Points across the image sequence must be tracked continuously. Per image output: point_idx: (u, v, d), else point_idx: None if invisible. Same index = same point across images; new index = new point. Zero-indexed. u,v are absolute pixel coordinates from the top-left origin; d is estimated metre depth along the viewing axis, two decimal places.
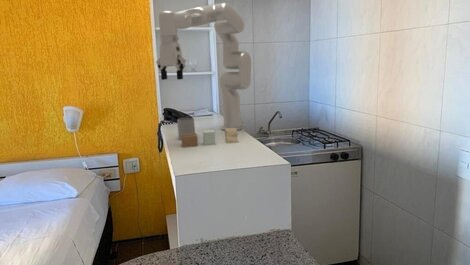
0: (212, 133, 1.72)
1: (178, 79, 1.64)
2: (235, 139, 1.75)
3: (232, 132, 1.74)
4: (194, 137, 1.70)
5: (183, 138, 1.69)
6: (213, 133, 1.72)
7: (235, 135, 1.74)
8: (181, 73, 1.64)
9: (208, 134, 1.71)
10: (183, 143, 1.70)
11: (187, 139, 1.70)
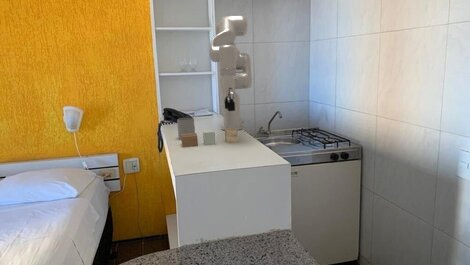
0: (212, 133, 1.72)
1: None
2: (235, 139, 1.75)
3: (232, 132, 1.74)
4: (194, 137, 1.70)
5: (183, 138, 1.69)
6: (213, 133, 1.72)
7: (235, 135, 1.74)
8: None
9: (208, 134, 1.71)
10: (183, 143, 1.70)
11: (187, 139, 1.70)
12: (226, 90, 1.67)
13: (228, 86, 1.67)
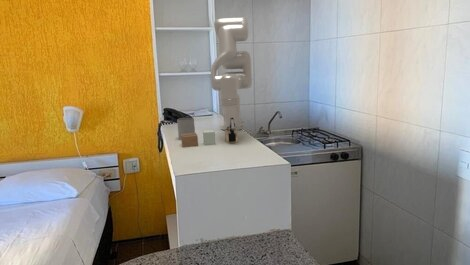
0: (212, 133, 1.71)
1: None
2: None
3: None
4: (194, 137, 1.70)
5: (183, 138, 1.69)
6: (213, 133, 1.72)
7: None
8: None
9: (208, 134, 1.71)
10: (184, 143, 1.70)
11: (187, 139, 1.70)
12: (228, 120, 1.70)
13: (230, 116, 1.70)
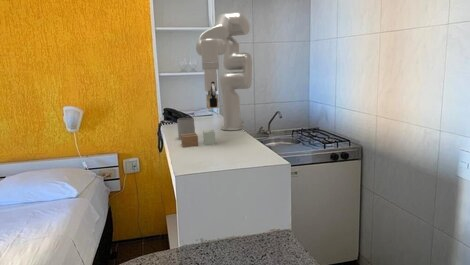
0: (212, 133, 1.71)
1: None
2: None
3: None
4: (195, 137, 1.70)
5: (184, 138, 1.69)
6: (213, 133, 1.72)
7: None
8: None
9: (208, 134, 1.71)
10: (184, 143, 1.70)
11: (188, 139, 1.70)
12: (208, 84, 1.65)
13: (210, 80, 1.65)
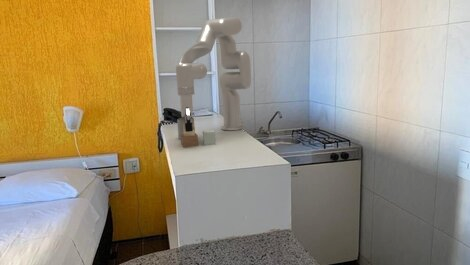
0: (212, 133, 1.72)
1: None
2: (192, 132, 1.71)
3: None
4: (195, 137, 1.70)
5: (184, 138, 1.69)
6: (213, 133, 1.72)
7: (192, 128, 1.70)
8: None
9: (208, 134, 1.71)
10: (184, 143, 1.70)
11: (188, 139, 1.70)
12: (183, 110, 1.66)
13: (185, 106, 1.65)
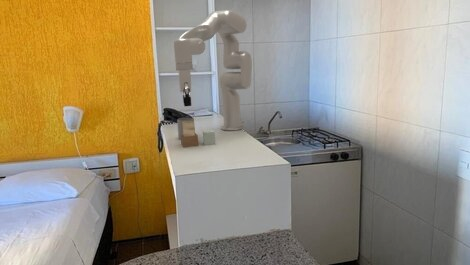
0: (212, 133, 1.71)
1: None
2: (192, 132, 1.70)
3: (189, 125, 1.69)
4: (195, 137, 1.70)
5: (184, 138, 1.69)
6: (213, 133, 1.72)
7: (192, 128, 1.70)
8: None
9: (208, 134, 1.71)
10: (184, 143, 1.70)
11: (188, 139, 1.70)
12: (181, 85, 1.64)
13: (183, 81, 1.63)
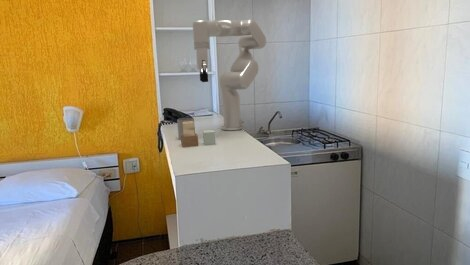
0: (212, 133, 1.72)
1: None
2: (192, 132, 1.70)
3: (189, 125, 1.70)
4: (195, 137, 1.71)
5: (184, 138, 1.69)
6: (213, 133, 1.72)
7: (192, 128, 1.70)
8: None
9: (208, 134, 1.71)
10: (184, 143, 1.70)
11: (188, 139, 1.70)
12: (199, 62, 1.79)
13: (201, 58, 1.79)
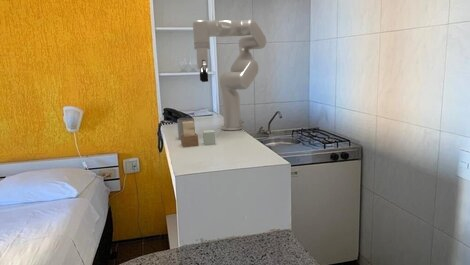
0: (212, 133, 1.71)
1: None
2: (192, 132, 1.71)
3: (189, 125, 1.70)
4: (195, 137, 1.71)
5: (184, 138, 1.69)
6: (213, 133, 1.72)
7: (192, 128, 1.70)
8: None
9: (208, 134, 1.71)
10: (184, 143, 1.70)
11: (188, 139, 1.70)
12: (199, 62, 1.79)
13: (201, 58, 1.79)
